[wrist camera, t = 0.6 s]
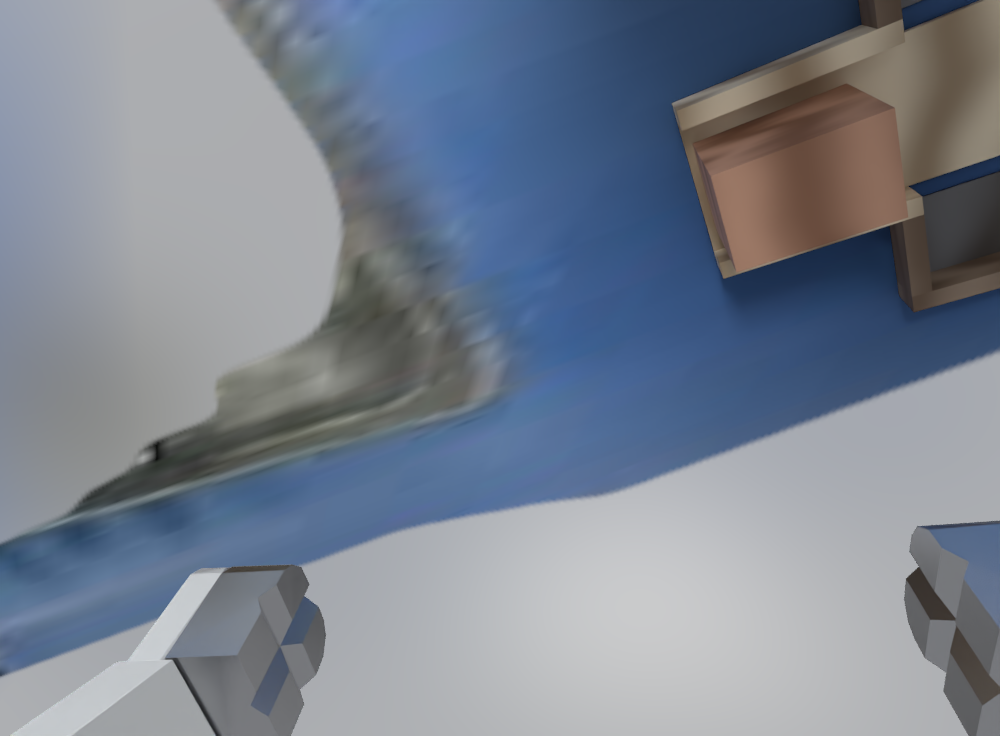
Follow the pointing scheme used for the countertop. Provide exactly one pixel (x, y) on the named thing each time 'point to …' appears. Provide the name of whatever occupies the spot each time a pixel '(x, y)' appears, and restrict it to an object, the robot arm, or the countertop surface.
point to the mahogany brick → (804, 176)
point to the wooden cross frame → (921, 130)
